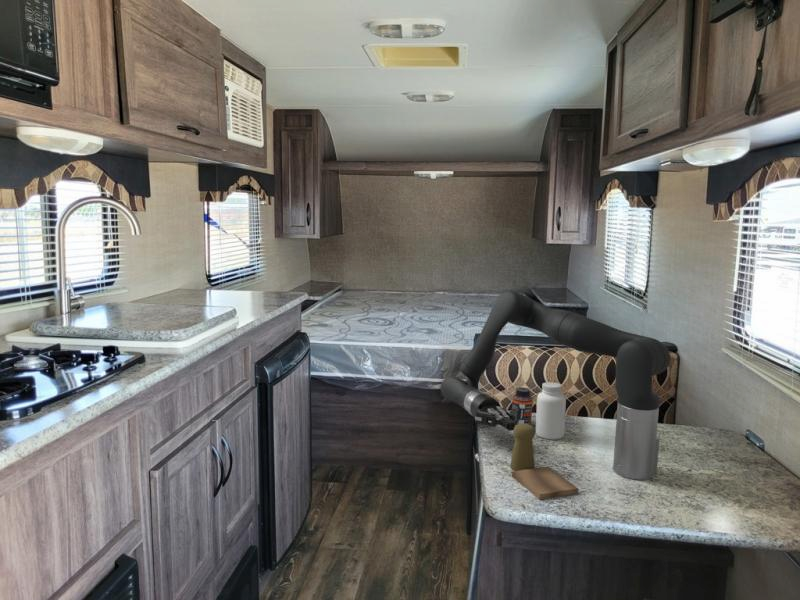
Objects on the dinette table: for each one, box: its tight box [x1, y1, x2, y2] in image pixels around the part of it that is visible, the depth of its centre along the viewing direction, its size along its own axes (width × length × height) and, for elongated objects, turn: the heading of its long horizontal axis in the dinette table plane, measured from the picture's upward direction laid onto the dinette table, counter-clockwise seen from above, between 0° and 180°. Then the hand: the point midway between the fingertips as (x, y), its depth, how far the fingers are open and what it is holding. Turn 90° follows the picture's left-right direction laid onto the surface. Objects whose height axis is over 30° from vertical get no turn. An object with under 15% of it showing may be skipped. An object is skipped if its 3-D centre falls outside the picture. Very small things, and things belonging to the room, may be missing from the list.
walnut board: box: [511, 466, 579, 500], centre depth 133 cm, size 10×12×1 cm
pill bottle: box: [535, 381, 567, 441], centre depth 163 cm, size 8×8×15 cm
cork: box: [509, 424, 536, 471], centre depth 141 cm, size 6×6×11 cm
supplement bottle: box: [511, 386, 534, 426], centre depth 170 cm, size 6×6×11 cm
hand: (512, 426), depth 146 cm, fingers closed
